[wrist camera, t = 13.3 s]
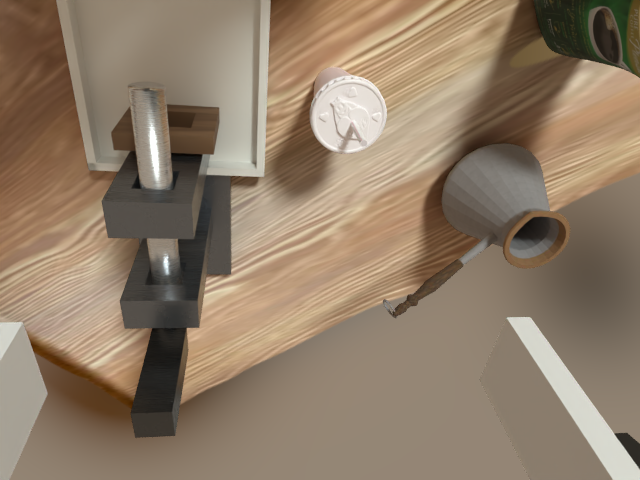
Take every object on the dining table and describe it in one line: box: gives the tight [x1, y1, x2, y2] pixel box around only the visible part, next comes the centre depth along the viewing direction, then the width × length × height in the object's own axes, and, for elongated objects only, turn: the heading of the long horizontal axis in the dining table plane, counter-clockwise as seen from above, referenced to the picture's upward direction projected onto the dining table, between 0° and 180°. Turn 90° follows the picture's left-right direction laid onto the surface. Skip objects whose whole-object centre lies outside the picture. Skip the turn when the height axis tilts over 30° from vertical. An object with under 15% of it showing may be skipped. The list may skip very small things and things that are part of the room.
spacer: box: [111, 104, 220, 155], centre depth 41 cm, size 2×8×8 cm, turn 84°
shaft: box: [128, 82, 188, 437], centre depth 34 cm, size 25×3×11 cm, turn 174°
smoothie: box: [309, 67, 387, 154], centre depth 40 cm, size 6×6×14 cm
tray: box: [56, 0, 271, 177], centre depth 41 cm, size 22×17×2 cm
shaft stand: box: [102, 151, 231, 328], centre depth 44 cm, size 18×10×17 cm, turn 174°
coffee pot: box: [383, 143, 570, 318], centre depth 48 cm, size 21×12×15 cm, turn 113°
